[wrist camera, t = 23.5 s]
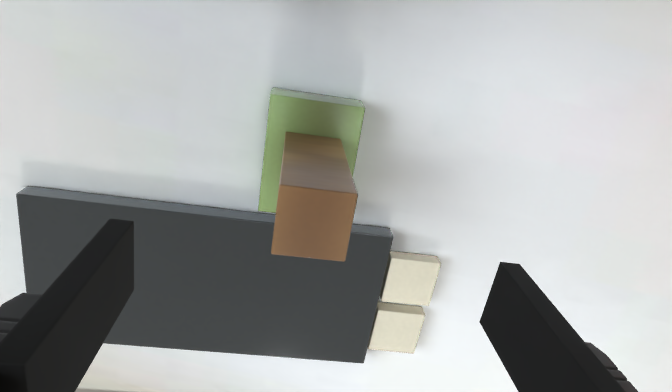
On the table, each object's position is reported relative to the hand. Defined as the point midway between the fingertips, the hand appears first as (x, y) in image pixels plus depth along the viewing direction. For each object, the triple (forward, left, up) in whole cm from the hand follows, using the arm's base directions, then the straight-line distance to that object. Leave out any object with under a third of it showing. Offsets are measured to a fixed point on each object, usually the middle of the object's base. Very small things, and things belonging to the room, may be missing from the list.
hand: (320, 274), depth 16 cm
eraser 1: (+12, -6, -17) cm, 22 cm away
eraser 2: (+13, -11, -17) cm, 24 cm away
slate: (-2, -13, -17) cm, 22 cm away
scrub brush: (0, -1, -17) cm, 17 cm away
